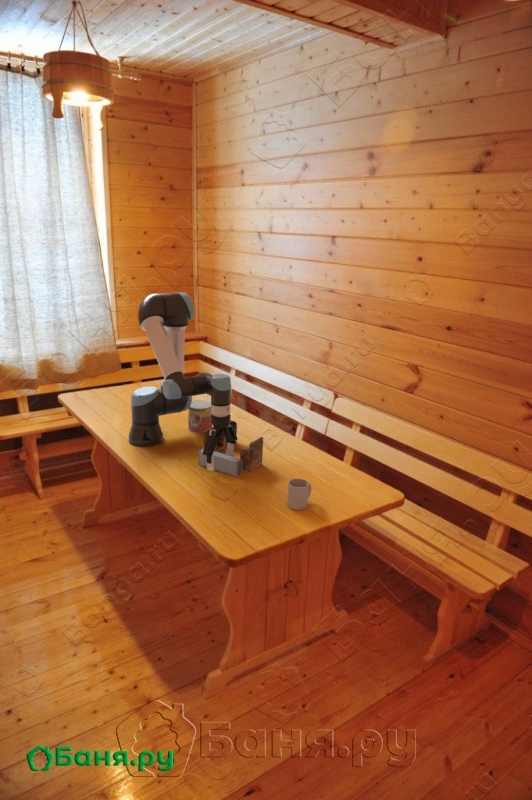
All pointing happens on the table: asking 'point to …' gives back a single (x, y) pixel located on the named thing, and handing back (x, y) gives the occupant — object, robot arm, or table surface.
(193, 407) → the canned food
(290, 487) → the cup
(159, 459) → the table surface
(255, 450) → the post foot
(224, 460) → the rail
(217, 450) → the post head
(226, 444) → the mug
